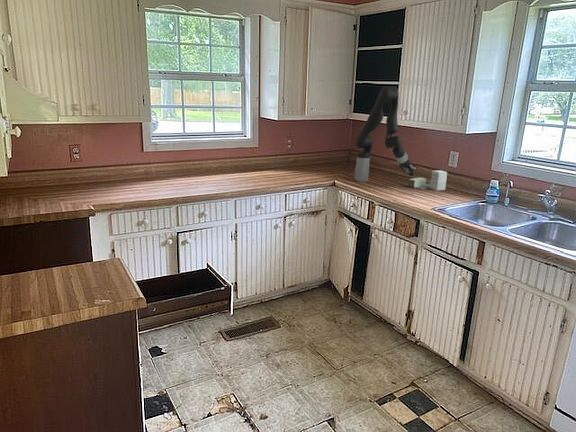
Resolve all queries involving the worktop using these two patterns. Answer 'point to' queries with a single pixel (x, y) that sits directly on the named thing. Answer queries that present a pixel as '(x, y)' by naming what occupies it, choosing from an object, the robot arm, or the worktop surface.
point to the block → (416, 182)
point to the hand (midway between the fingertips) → (411, 174)
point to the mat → (421, 186)
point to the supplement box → (438, 180)
